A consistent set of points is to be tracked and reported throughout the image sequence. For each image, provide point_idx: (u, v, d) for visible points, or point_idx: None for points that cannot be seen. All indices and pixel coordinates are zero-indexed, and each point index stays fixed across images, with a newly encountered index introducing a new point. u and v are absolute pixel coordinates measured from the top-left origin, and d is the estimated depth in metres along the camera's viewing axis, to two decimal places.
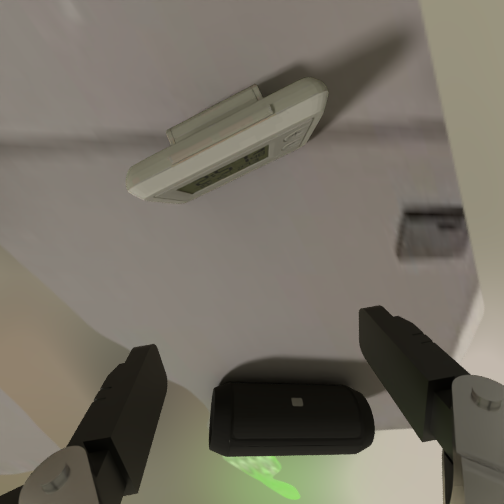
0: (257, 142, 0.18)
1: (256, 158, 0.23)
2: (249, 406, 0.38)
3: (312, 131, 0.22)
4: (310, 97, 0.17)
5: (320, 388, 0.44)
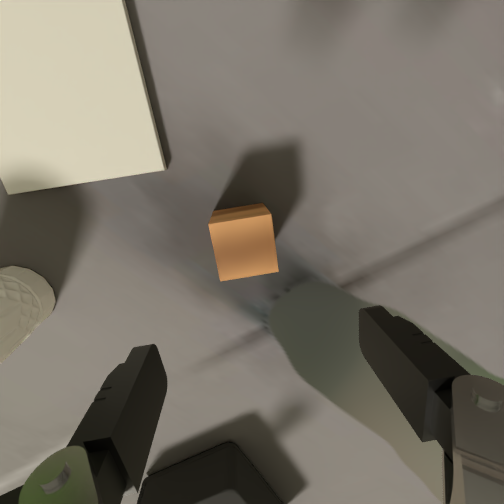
0: None
1: None
2: None
3: None
4: None
5: None
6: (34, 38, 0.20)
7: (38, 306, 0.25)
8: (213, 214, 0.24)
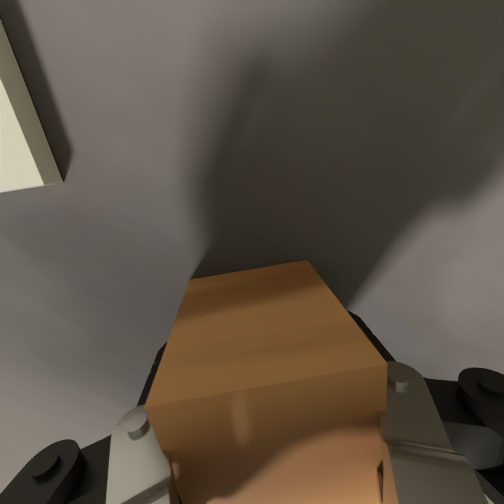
0: None
1: None
2: None
3: None
4: None
5: None
6: None
7: None
8: (184, 304, 0.09)
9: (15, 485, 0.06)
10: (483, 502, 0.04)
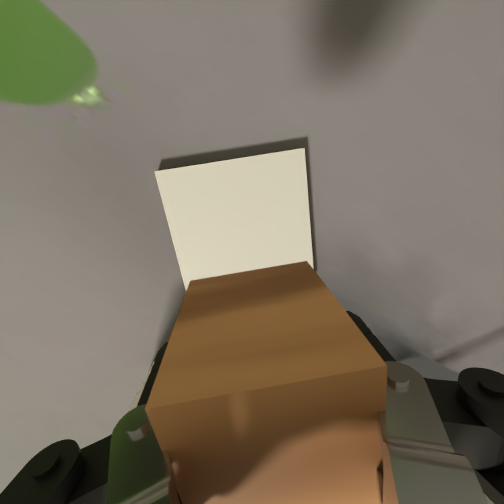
0: None
1: None
2: None
3: None
4: None
5: None
6: (234, 196, 0.25)
7: None
8: (184, 306, 0.09)
9: (15, 486, 0.06)
10: (484, 502, 0.04)
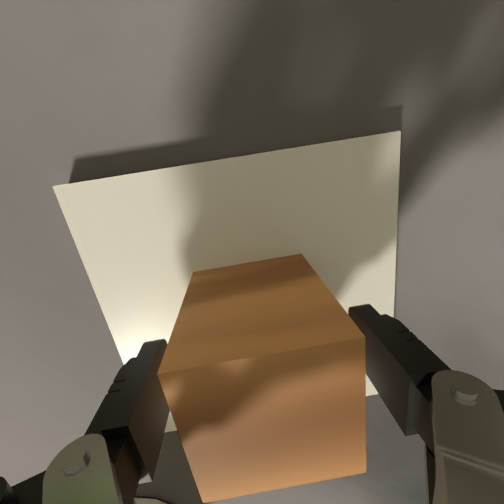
0: None
1: None
2: None
3: None
4: None
5: None
6: (239, 238, 0.11)
7: None
8: (189, 293, 0.10)
9: None
10: None
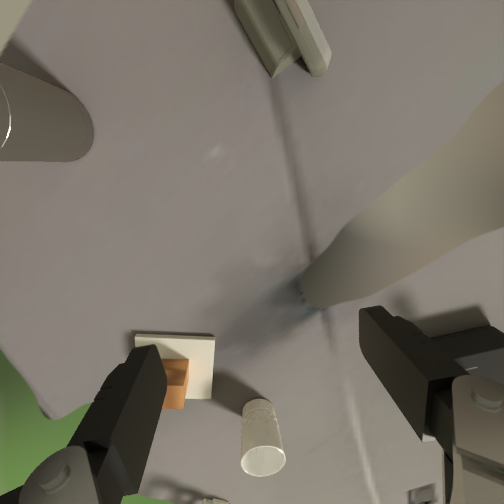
0: None
1: None
2: None
3: None
4: None
5: None
6: None
7: (263, 409, 0.51)
8: None
9: None
10: None
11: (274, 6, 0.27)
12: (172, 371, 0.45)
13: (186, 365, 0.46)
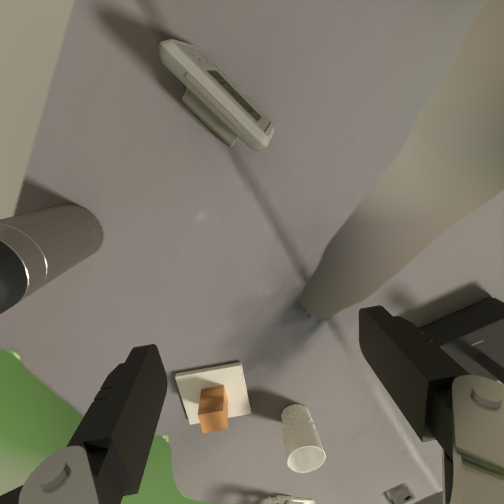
0: (206, 75, 0.29)
1: (219, 77, 0.33)
2: None
3: (186, 43, 0.32)
4: (168, 52, 0.28)
5: None
6: (198, 399, 0.56)
7: (298, 413, 0.58)
8: None
9: None
10: None
11: None
12: (211, 399, 0.53)
13: (222, 391, 0.54)
